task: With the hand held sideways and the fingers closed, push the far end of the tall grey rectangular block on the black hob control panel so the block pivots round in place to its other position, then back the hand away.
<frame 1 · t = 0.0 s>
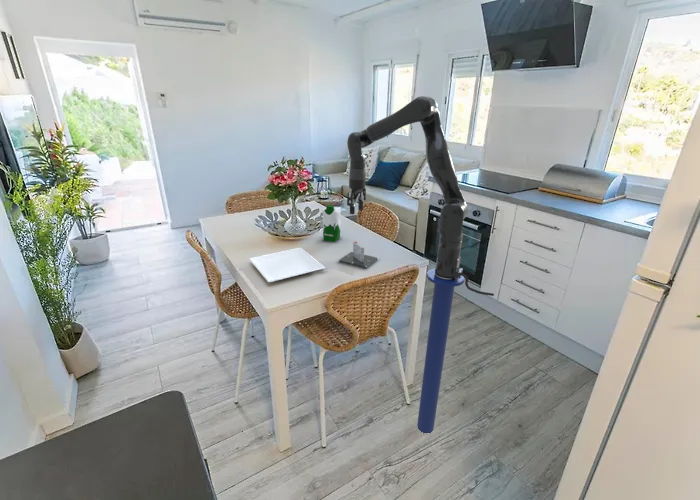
hand: (356, 212, 165), 22 cm above the table, tool pointing down, fingers open, 8 cm apart
milk carton: (331, 240, 191), on the table
grey rectangular block: (358, 251, 163), point 5 cm above the table, hinge at -35.0°
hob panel: (358, 261, 165), on the table
plate: (286, 267, 158), on the table
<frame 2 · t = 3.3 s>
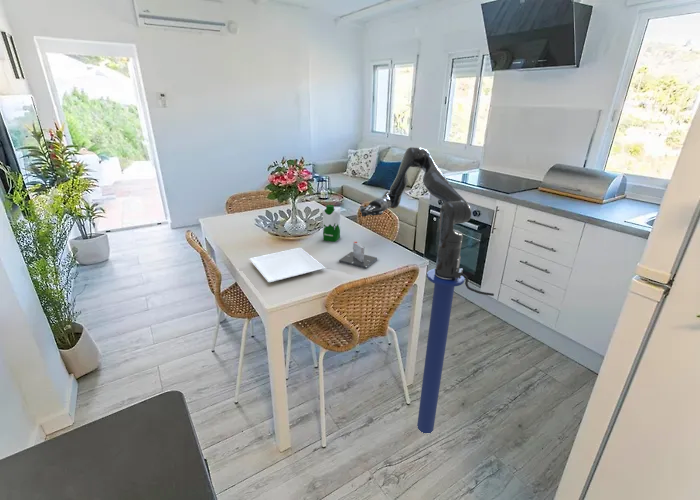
hand: (363, 214, 166), 20 cm above the table, tool horizontal, fingers closed
nothing on the table moved.
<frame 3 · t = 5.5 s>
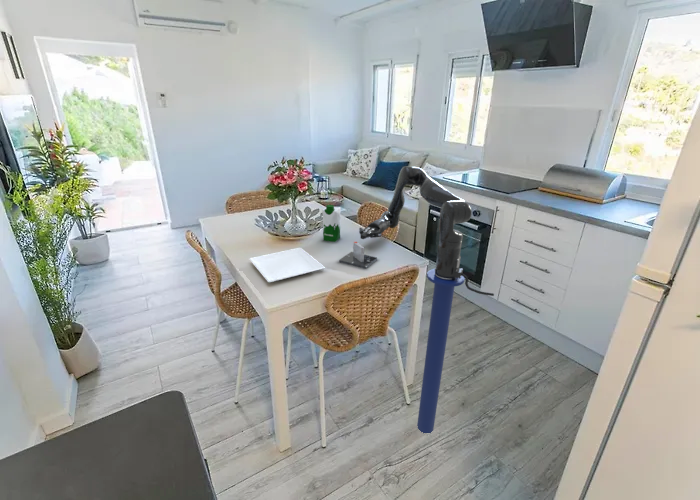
hand: (362, 237, 170), 9 cm above the table, tool horizontal, fingers closed
nothing on the table moved.
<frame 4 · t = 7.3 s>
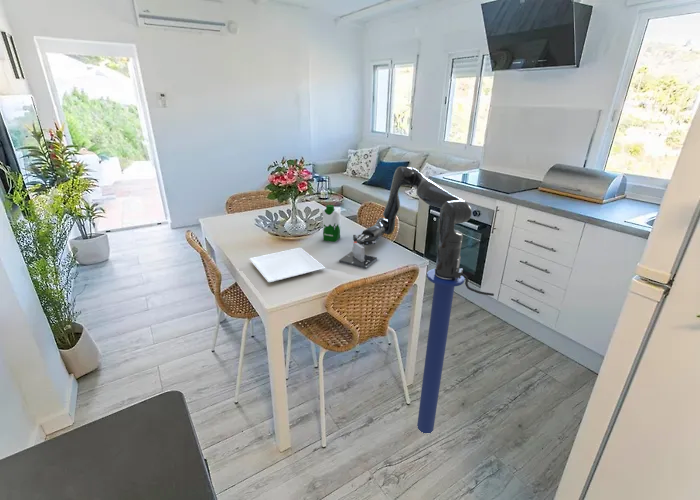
hand: (355, 244, 166), 7 cm above the table, tool horizontal, fingers closed
grey rectangular block: (358, 251, 163), point 5 cm above the table, hinge at -32.1°, touching gripper
everything else where it was.
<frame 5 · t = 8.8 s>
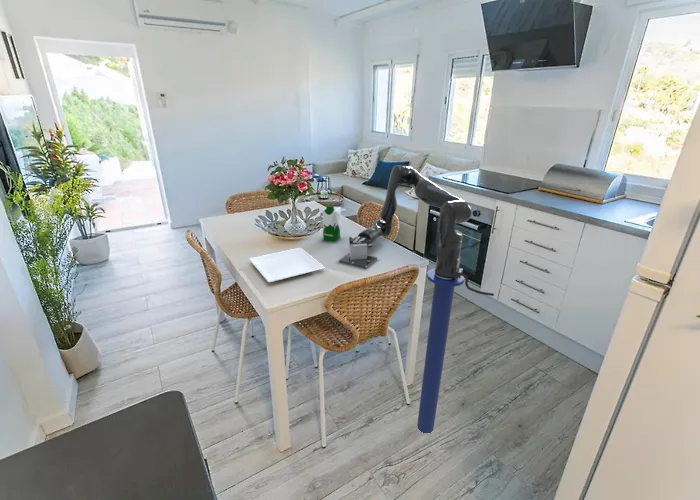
hand: (351, 247, 162), 7 cm above the table, tool horizontal, fingers closed
grey rectangular block: (358, 251, 163), point 5 cm above the table, hinge at 44.4°, touching gripper
everything else where it was.
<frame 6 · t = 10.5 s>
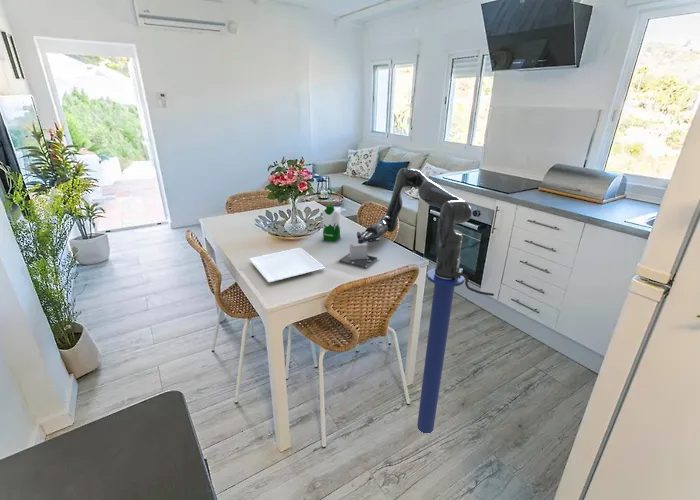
hand: (359, 241, 169), 7 cm above the table, tool horizontal, fingers closed
grey rectangular block: (358, 251, 163), point 5 cm above the table, hinge at 44.7°
everything else where it was.
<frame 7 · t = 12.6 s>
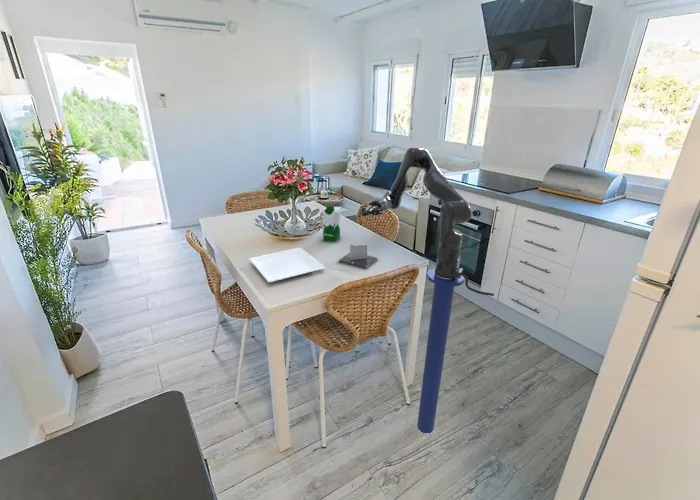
hand: (363, 214, 166), 20 cm above the table, tool horizontal, fingers closed
nothing on the table moved.
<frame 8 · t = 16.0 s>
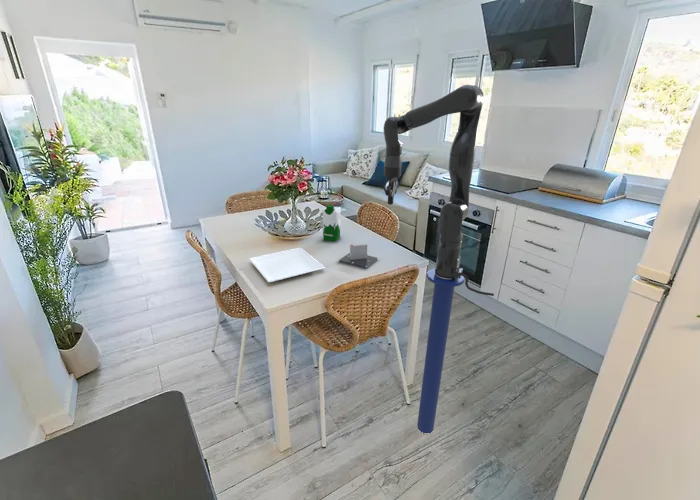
hand: (390, 204, 159), 27 cm above the table, tool pointing down, fingers closed
nothing on the table moved.
at the end: grey rectangular block at +45° (first picture: -35°); milk carton moved 0.1 cm from its start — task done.
